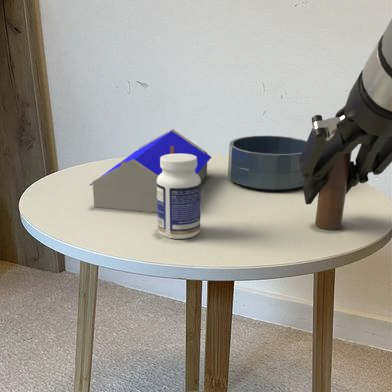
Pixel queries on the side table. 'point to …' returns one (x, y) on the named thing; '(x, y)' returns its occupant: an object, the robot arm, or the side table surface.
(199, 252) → the side table surface
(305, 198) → the robot arm
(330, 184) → the brown cylinder
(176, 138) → the toy house model
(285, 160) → the bowl
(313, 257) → the side table surface
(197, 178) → the pill bottle
